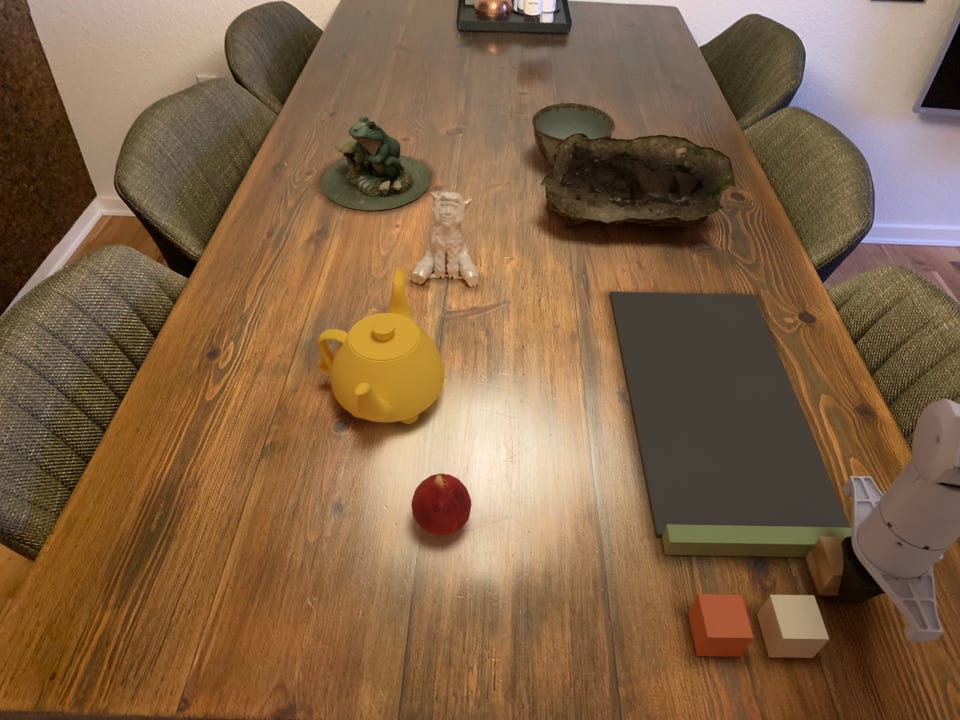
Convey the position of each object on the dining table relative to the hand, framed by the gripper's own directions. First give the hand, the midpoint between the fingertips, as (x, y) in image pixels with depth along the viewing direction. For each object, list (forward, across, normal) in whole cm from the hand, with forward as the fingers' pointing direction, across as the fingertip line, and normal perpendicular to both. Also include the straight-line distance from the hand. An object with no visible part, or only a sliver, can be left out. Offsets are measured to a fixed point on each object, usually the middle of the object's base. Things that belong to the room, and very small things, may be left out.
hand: (849, 598), depth 66 cm
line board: (+2, +26, +7) cm, 27 cm away
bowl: (+2, +80, +19) cm, 82 cm away
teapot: (+2, +26, +46) cm, 53 cm away
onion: (+2, +8, +38) cm, 39 cm away
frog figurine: (+2, +73, +52) cm, 90 cm away
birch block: (+2, +3, 0) cm, 3 cm away
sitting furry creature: (+2, +50, +40) cm, 64 cm away
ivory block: (+2, -3, +6) cm, 7 cm away
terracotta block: (+2, -3, +13) cm, 13 cm away
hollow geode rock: (+2, +62, +12) cm, 63 cm away
